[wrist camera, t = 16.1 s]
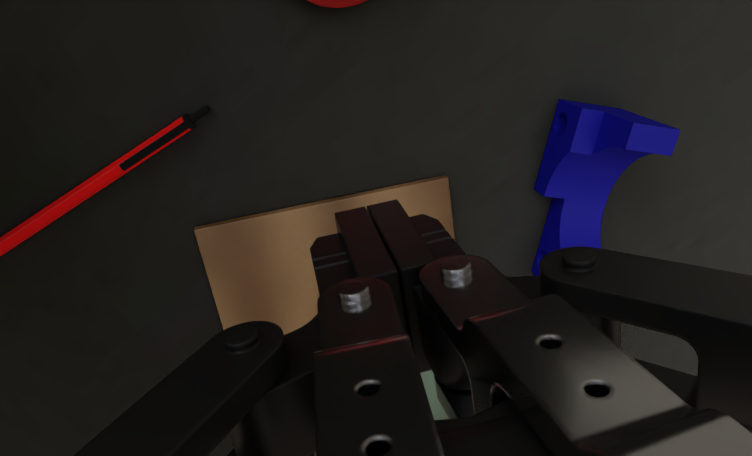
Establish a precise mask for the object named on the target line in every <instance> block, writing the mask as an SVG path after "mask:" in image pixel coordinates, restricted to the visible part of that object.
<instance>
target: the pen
mask: <svg viewBox="0 0 752 456" xmlns="http://www.w3.org/2000/svg"><path fill="white" fill-rule="evenodd" d="M209 112H211V109H210V107H209V106H208V105H207V106H206V107H204V108H202V109H201V110H199V111H198V112H196V113H195V114H193V115H192V116H189V115H187V114H185V115H183V116H182V117H180V118H179V119H177V120H176V121H174V122H173V123H171V124H170V125H168V126H167V127H165V128H164V129H162V130H161V131H159V132H158V133H156V134H155V135H153V136H152V137H150V138H149V139H147V140H146V141H144V142H143V143H141V144H140V145H138V146H137V147H135V148H134V149H132V150H131V151H129V152H128V153H126V154H125V155H123V156H122V157H120V158H119V159H117V160H116V161H114V162H113V163H111V164H110V165H108V166H107V167H105V168H104V169H102V170H101V171H99V172H98V173H96V174H95V175H93V176H92V177H90V178H89V179H87V180H86V181H84V182H83V183H81V184H80V185H78V186H77V187H75V188H74V189H72V190H71V191H69V192H68V193H66V194H65V195H63V196H62V197H60V198H59V199H57V200H56V201H54V202H53V203H51V204H50V205H48V206H47V207H45V208H44V209H42V210H41V211H39V212H38V213H36V214H35V215H33V216H32V217H30V218H28V219H27V220H25V221H24V222H22V223H21V224H19V225H18V226H16V227H15V228H13V229H12V230H10V231H9V232H7V233H6V234H4V235H3V236H1V237H0V256H2V255H3V254H5V253H6V252H8V251H9V250H11V249H12V248H14V247H15V246H17V245H18V244H20V243H21V242H23V241H24V240H26V239H27V238H29V237H31V236H32V235H34V234H35V233H37V232H38V231H40V230H41V229H43V228H44V227H46V226H47V225H49V224H50V223H52V222H53V221H55V220H56V219H58V218H59V217H61V216H62V215H64V214H65V213H67V212H68V211H70V210H71V209H73V208H74V207H76V206H77V205H79V204H80V203H82V202H83V201H85V200H86V199H88V198H89V197H91V196H92V195H94V194H95V193H97V192H98V191H100V190H101V189H103V188H104V187H106V186H107V185H109V184H110V183H112V182H114V181H115V180H117V179H118V178H120V177H121V176H123V175H124V174H126V173H127V172H129V171H130V170H132V169H133V168H135V167H136V166H138V165H139V164H141V163H142V162H144V161H145V160H147V159H148V158H150V157H151V156H153V155H154V154H156V153H157V152H159V151H160V150H162V149H163V148H165V147H166V146H168V145H169V144H171V143H172V142H174V141H175V140H177V139H178V138H180V137H181V136H183V135H184V134H186V133H187V132H189V131H190V130H192V129H193V128H195V127H196V126H195V123H194V122H196V121H197V120H199V119H200V118H202V117H203V116H205V115H206V114H208V113H209Z"/></svg>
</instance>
